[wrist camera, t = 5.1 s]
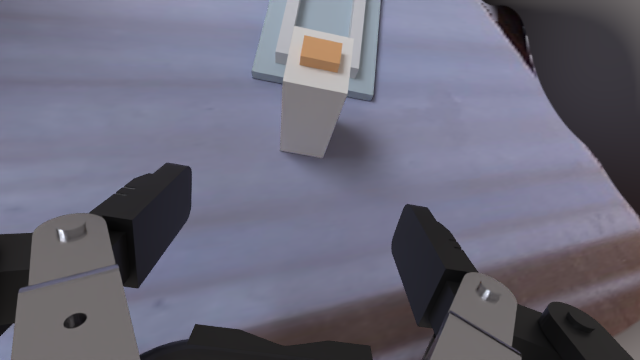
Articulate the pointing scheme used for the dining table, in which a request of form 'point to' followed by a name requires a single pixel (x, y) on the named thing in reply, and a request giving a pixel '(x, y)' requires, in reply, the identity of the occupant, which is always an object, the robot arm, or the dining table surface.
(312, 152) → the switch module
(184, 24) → the dining table surface
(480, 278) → the robot arm
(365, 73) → the mounting board
